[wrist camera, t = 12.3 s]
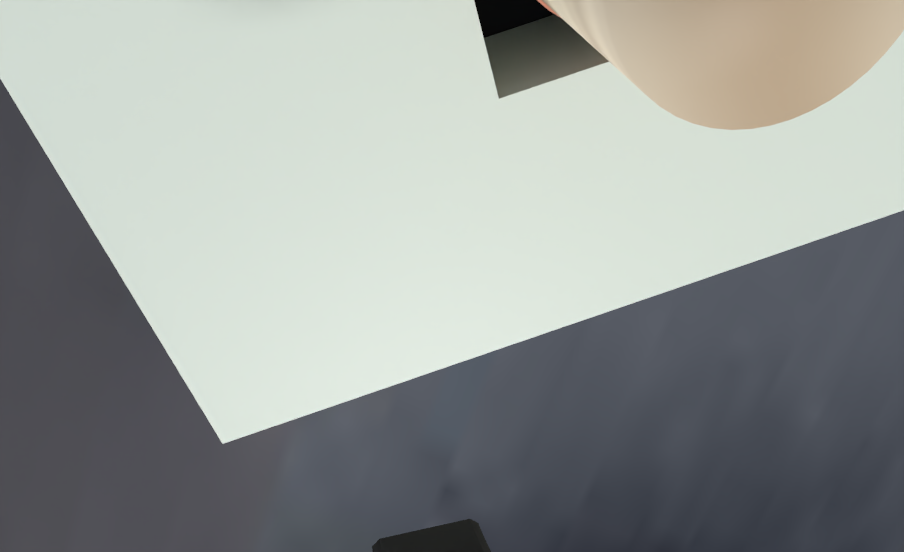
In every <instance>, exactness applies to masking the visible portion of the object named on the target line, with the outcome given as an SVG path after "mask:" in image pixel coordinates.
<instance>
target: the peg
mask: <svg viewBox="0 0 904 552" xmlns="http://www.w3.org/2000/svg"><path fill="white" fill-rule="evenodd" d="M537 1H538V2H540V3H541V4H542V5H543V6H544V7H545V8H547V9H548V10H549V11H551V12H552V13H554V14H555V15H557V16H558V17H560V18H562V19H563V20H564V21H565V22H566V23H567V24H568V25H570V26H571V27H572V28H573V29H574V30H575V31H576V32H577V33H578V34H579V35H581V36H582V37H583V38H584V39H585V40H586V41H587V42H588V43H589V44H591V45H592V46H593V47H594V48H595V49H596V50H597V51H598V52H599V53H600V54H602V55H603V56H604V57H605V58H606V59H607V60H608V61H609V62H610V63H611V64H613V65H614V66H615V67H616V68H617V69H618V70H619V71H620V72H621V73H622V74H624V75H625V76H626V77H627V78H628V79H629V80H630V81H631V82H632V83H633V84H635V85H636V86H637V87H638V88H639V89H640V90H641V91H642V92H643V93H644V94H646V95H647V96H648V97H649V98H650V99H651V100H653V101H654V102H655V103H656V104H657V105H658V106H660V107H661V108H663V109H664V110H666V111H668V112H669V113H671V114H673V115H674V116H676V117H678V118H681V119H683V120H686V121H688V122H690V123H693V124H697V125H701V126H705V127H709V128H716V129H726V130H741V129H754V128H760V127H765V126H771V125H775V124H778V123H781V122H784V121H788V120H791V119H794V118H796V117H798V116H801V115H803V114H805V113H808V112H810V111H812V110H814V109H816V108H817V107H819V106H821V105H823V104H825V103H826V102H828V101H830V100H832V99H833V98H834V97H836V96H837V95H839V94H840V93H842V92H843V91H844V90H846V89H847V88H849V87H850V86H851V85H852V84H854V83H855V82H856V81H857V80H858V79H860V78H861V77H862V76H863V75H864V74H865V73H867V72H868V71H869V70H870V69H871V68H872V67H873V66H874V65H875V64H876V63H877V62H878V61H879V59H880V58H881V57H882V56H883V55H884V54H885V53H886V52H887V51H888V50H889V48H890V47H891V46H892V45H893V43H894V42H895V41H896V40H897V38H898V37H899V36H900V35H901V33H902V32H903V30H904V0H537Z"/></svg>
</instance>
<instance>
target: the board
mask: <svg viewBox="0 0 904 552" xmlns="http://www.w3.org/2000/svg"><path fill="white" fill-rule="evenodd" d="M0 79H1V80H2V82H3V84H4V85H5V87H6V89H7V90H8V92H9V94H10V95H11V97H12V99H13V100H14V102H15V103H16V105H17V107H18V108H19V110H20V112H21V113H22V115H23V117H24V118H25V120H26V121H27V123H28V125H29V126H30V128H31V130H32V131H33V133H34V135H35V136H36V138H37V140H38V141H39V143H40V144H41V146H42V148H43V149H44V151H45V153H46V154H47V156H48V158H49V159H50V161H51V163H52V164H53V166H54V167H55V169H56V171H57V172H58V174H59V176H60V177H61V179H62V181H63V182H64V184H65V186H66V187H67V189H68V190H69V192H70V194H71V195H72V197H73V199H74V200H75V202H76V204H77V205H78V207H79V209H80V210H81V212H82V213H83V215H84V217H85V218H86V220H87V222H88V223H89V225H90V227H91V228H92V230H93V232H94V233H95V235H96V236H97V238H98V240H99V241H100V243H101V245H102V246H103V248H104V250H105V251H106V253H107V255H108V256H109V258H110V259H111V261H112V263H113V264H114V266H115V268H116V269H117V271H118V273H119V274H120V276H121V277H122V279H123V281H124V282H125V284H126V286H127V287H128V289H129V291H130V292H131V294H132V296H133V297H134V299H135V300H136V302H137V304H138V305H139V307H140V309H141V310H142V312H143V314H144V315H145V317H146V319H147V320H148V322H149V323H150V325H151V327H152V328H153V330H154V332H155V333H156V335H157V337H158V338H159V340H160V342H161V343H162V345H163V346H164V348H165V350H166V351H167V353H168V355H169V356H170V358H171V360H172V361H173V363H174V365H175V366H176V368H177V369H178V371H179V373H180V374H181V376H182V378H183V379H184V381H185V383H186V384H187V386H188V388H189V389H190V391H191V392H192V394H193V396H194V397H195V399H196V401H197V402H198V404H199V406H200V407H201V409H202V411H203V412H204V414H205V415H206V417H207V419H208V420H209V422H210V424H211V425H212V427H213V429H214V430H215V432H216V433H217V435H218V437H219V438H220V440H221V442H222V443H226V442H229V441H232V440H235V439H238V438H241V437H244V436H247V435H250V434H253V433H255V432H258V431H261V430H264V429H267V428H270V427H273V426H276V425H279V424H282V423H285V422H288V421H290V420H293V419H296V418H299V417H302V416H305V415H308V414H311V413H314V412H317V411H320V410H323V409H325V408H328V407H331V406H334V405H337V404H340V403H343V402H346V401H349V400H352V399H355V398H358V397H360V396H363V395H366V394H369V393H372V392H375V391H378V390H381V389H384V388H387V387H390V386H393V385H395V384H398V383H401V382H404V381H407V380H410V379H413V378H416V377H419V376H422V375H425V374H427V373H430V372H433V371H436V370H439V369H442V368H445V367H448V366H451V365H454V364H457V363H460V362H462V361H465V360H468V359H471V358H474V357H477V356H480V355H483V354H486V353H489V352H492V351H495V350H497V349H500V348H503V347H506V346H509V345H512V344H515V343H518V342H521V341H524V340H527V339H530V338H532V337H535V336H538V335H541V334H544V333H547V332H550V331H553V330H556V329H559V328H562V327H564V326H567V325H570V324H573V323H576V322H579V321H582V320H585V319H588V318H591V317H594V316H597V315H599V314H602V313H605V312H608V311H611V310H614V309H617V308H620V307H623V306H626V305H629V304H632V303H634V302H637V301H640V300H643V299H646V298H649V297H652V296H655V295H658V294H661V293H664V292H667V291H669V290H672V289H675V288H678V287H681V286H684V285H687V284H690V283H693V282H696V281H699V280H702V279H704V278H707V277H710V276H713V275H716V274H719V273H722V272H725V271H728V270H731V269H734V268H736V267H739V266H742V265H745V264H748V263H751V262H754V261H757V260H760V259H763V258H766V257H769V256H771V255H774V254H777V253H780V252H783V251H786V250H789V249H792V248H795V247H798V246H801V245H804V244H806V243H809V242H812V241H815V240H818V239H821V238H824V237H827V236H830V235H833V234H836V233H839V232H841V231H844V230H847V229H850V228H853V227H856V226H859V225H862V224H865V223H868V222H871V221H874V220H876V219H879V218H882V217H885V216H888V215H891V214H894V213H897V212H900V211H903V210H904V30H903V32H902V33H901V35H900V36H899V37H898V38H897V40H896V41H895V42H894V43H893V45H892V46H891V47H890V48H889V50H888V51H887V52H886V53H885V54H884V55H883V56H882V57H881V58H880V59H879V61H878V62H877V63H876V64H875V65H874V66H873V67H872V68H871V69H870V70H869V71H868V72H867V73H865V74H864V75H863V76H862V77H861V78H860V79H858V80H857V81H856V82H855V83H854V84H852V85H851V86H850V87H849V88H847V89H846V90H844V91H843V92H842V93H840V94H839V95H837V96H836V97H834V98H833V99H832V100H830V101H828V102H826V103H825V104H823V105H821V106H819V107H817V108H816V109H814V110H812V111H810V112H808V113H805V114H803V115H801V116H798V117H796V118H794V119H791V120H788V121H784V122H781V123H778V124H775V125H771V126H765V127H760V128H754V129H741V130H726V129H716V128H709V127H705V126H701V125H697V124H693V123H690V122H688V121H686V120H683V119H681V118H678V117H676V116H674V115H673V114H671V113H669V112H668V111H666V110H664V109H663V108H661V107H660V106H658V105H657V104H656V103H655V102H654V101H653V100H651V99H650V98H649V97H648V96H647V95H646V94H644V93H643V92H642V91H641V90H640V89H639V88H638V87H637V86H636V85H635V84H633V83H632V82H631V81H630V80H629V79H628V78H627V77H626V76H625V75H624V74H622V73H621V72H620V71H619V70H618V69H617V68H616V67H615V66H614V65H613V64H611V63H610V62H609V61H608V60H607V59H606V58H605V57H604V56H603V55H602V54H600V53H599V52H598V51H597V50H596V49H595V48H594V47H593V46H592V45H591V44H589V43H588V42H587V41H586V40H585V39H584V38H583V37H582V36H581V35H579V34H578V33H577V32H576V31H575V30H574V29H573V28H572V27H571V26H570V25H568V24H567V23H566V22H565V21H564V20H563V19H562V18H560V17H558V16H557V15H555V14H554V15H551V16H548V17H545V18H542V19H539V20H536V21H533V22H530V23H527V24H524V25H521V26H518V27H515V28H512V29H509V30H506V31H503V32H501V33H498V34H495V35H492V36H489V37H486V38H484V37H483V33H482V29H481V25H480V21H479V17H478V13H477V9H476V5H475V1H474V0H0Z"/></svg>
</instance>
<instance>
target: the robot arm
mask: <svg viewBox="0 0 904 552" xmlns="http://www.w3.org/2000/svg"><path fill="white" fill-rule="evenodd" d="M372 548H373V552H491V551H490V549H489V547H488V545H487V543H486V540H485V538H484V536H483V534H482V532H481V529H480V527H479V524H478V523H477V522H475V521H473V520H471V519H467V520H462V521H458V522H453V523H449V524H444V525H440V526H435V527H431V528H426V529H422V530H417V531H413V532H409V533H404V534H400V535H395V536H391V537H386V538H382V539H379V540H378V541H377V542H376V543H375V544H374V545H373V546H372Z"/></svg>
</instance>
